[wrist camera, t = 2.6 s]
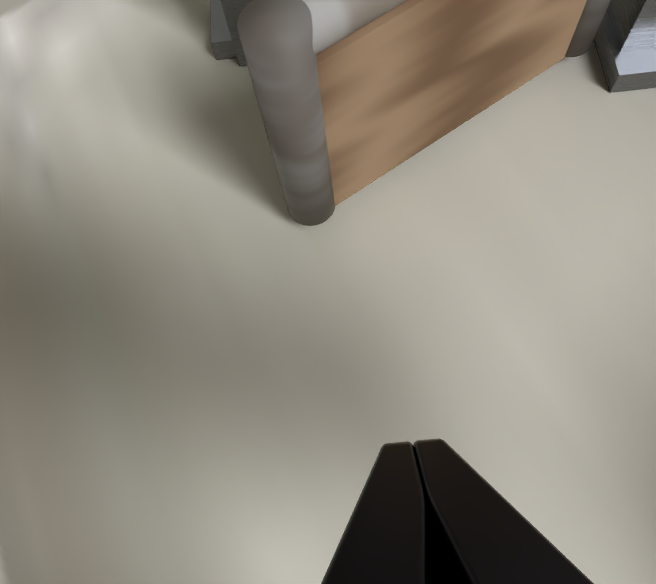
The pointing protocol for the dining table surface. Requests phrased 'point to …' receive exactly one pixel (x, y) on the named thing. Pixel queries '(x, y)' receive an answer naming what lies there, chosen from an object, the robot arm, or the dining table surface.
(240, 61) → the gate posts
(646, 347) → the dining table surface
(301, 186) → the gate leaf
